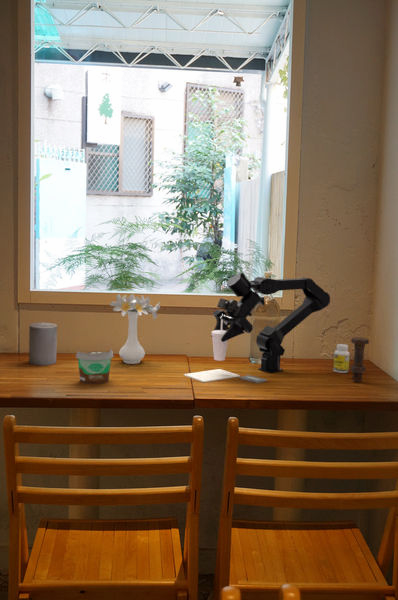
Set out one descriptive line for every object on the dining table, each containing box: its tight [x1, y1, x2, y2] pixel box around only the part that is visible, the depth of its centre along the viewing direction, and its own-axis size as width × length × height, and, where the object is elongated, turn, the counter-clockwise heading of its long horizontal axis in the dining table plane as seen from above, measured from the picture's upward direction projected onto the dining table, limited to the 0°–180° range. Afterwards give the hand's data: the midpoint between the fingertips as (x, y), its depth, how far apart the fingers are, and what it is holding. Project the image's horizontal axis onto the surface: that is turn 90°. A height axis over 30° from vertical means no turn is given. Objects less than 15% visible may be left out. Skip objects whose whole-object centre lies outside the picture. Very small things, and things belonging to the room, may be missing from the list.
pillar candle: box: [28, 322, 58, 366], centre depth 236 cm, size 10×10×15 cm
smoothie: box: [211, 319, 229, 362], centre depth 226 cm, size 6×6×14 cm
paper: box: [183, 368, 241, 383], centre depth 226 cm, size 16×11×1 cm
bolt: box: [350, 337, 370, 383], centre depth 225 cm, size 6×5×15 cm
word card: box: [238, 374, 268, 384], centre depth 223 cm, size 5×8×1 cm, turn 48°
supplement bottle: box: [332, 343, 350, 374], centre depth 240 cm, size 5×5×10 cm
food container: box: [75, 348, 114, 385], centre depth 211 cm, size 12×6×10 cm, turn 117°
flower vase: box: [109, 293, 161, 365], centre depth 241 cm, size 13×18×25 cm
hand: (217, 339), depth 226 cm, fingers closed on smoothie, 6 cm apart
